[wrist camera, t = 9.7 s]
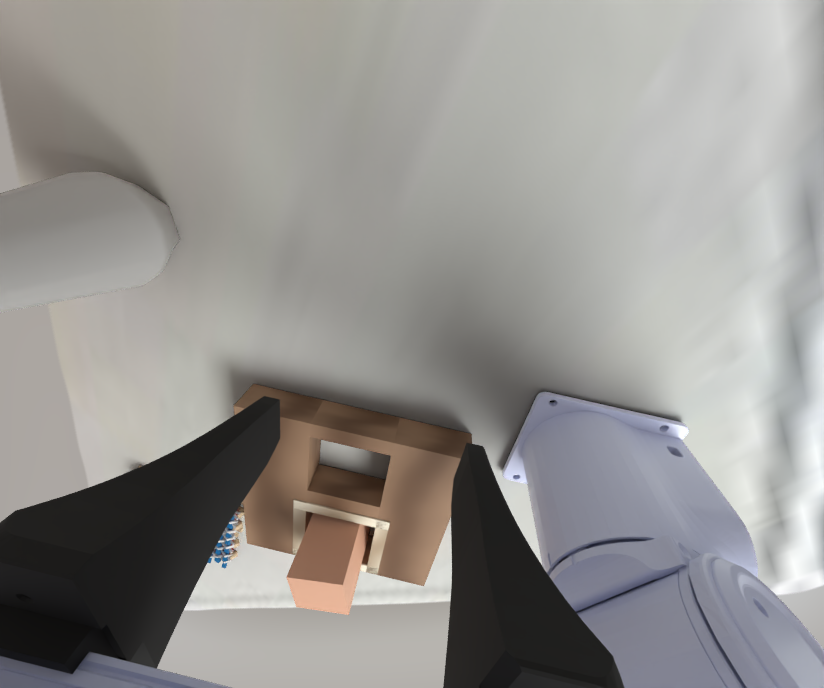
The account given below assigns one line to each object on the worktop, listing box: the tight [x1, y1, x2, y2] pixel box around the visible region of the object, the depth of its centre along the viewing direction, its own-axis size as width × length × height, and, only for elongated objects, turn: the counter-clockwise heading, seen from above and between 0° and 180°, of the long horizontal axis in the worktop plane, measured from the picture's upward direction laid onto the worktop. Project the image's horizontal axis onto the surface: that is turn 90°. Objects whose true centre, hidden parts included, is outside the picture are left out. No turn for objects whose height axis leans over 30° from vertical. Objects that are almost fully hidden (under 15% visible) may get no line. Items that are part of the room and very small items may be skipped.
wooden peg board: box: [234, 384, 472, 586], centre depth 28 cm, size 16×16×3 cm
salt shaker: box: [0, 171, 180, 313], centre depth 15 cm, size 6×6×13 cm
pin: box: [287, 513, 371, 615], centre depth 28 cm, size 4×4×7 cm
